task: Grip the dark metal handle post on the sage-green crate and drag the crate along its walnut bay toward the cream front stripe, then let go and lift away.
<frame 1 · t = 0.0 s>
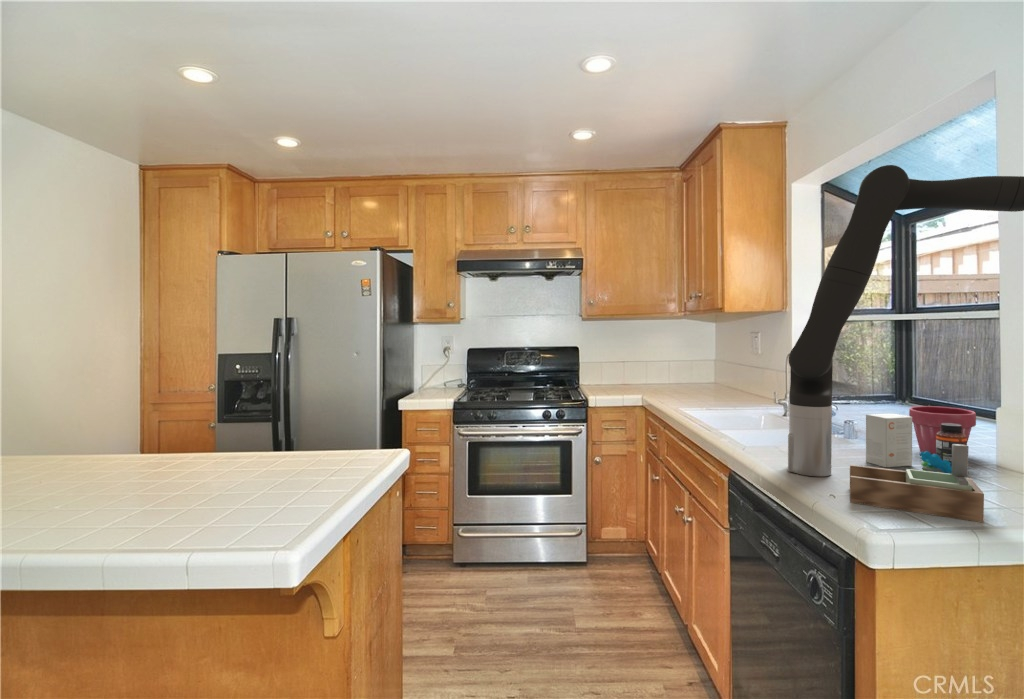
supplement bottle: (951, 468, 126), on the worktop
plant pot: (940, 455, 139), on the worktop
crate: (937, 472, 99), point 7 cm above the worktop, slide at 0.0 cm
bay: (909, 503, 102), on the worktop
gear: (941, 484, 114), on the worktop
small box: (888, 464, 131), on the worktop
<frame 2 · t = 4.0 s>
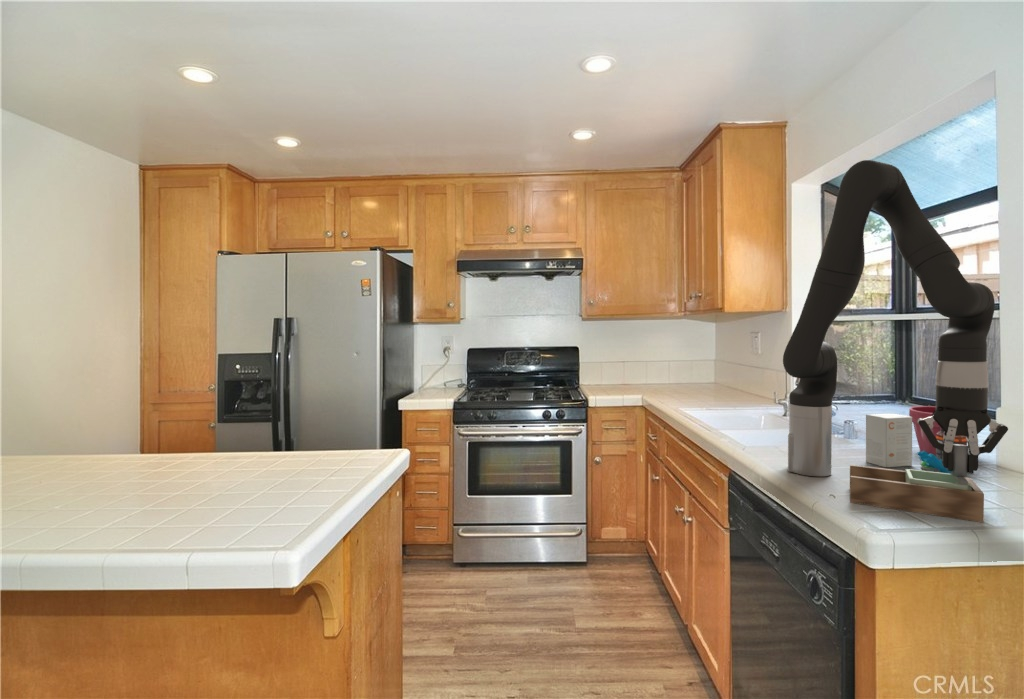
hand: (959, 471, 97), 8 cm above the worktop, tool pointing down, fingers closed on crate, 2 cm apart
crate: (936, 472, 99), point 7 cm above the worktop, slide at 0.0 cm, touching gripper
everything else where it was.
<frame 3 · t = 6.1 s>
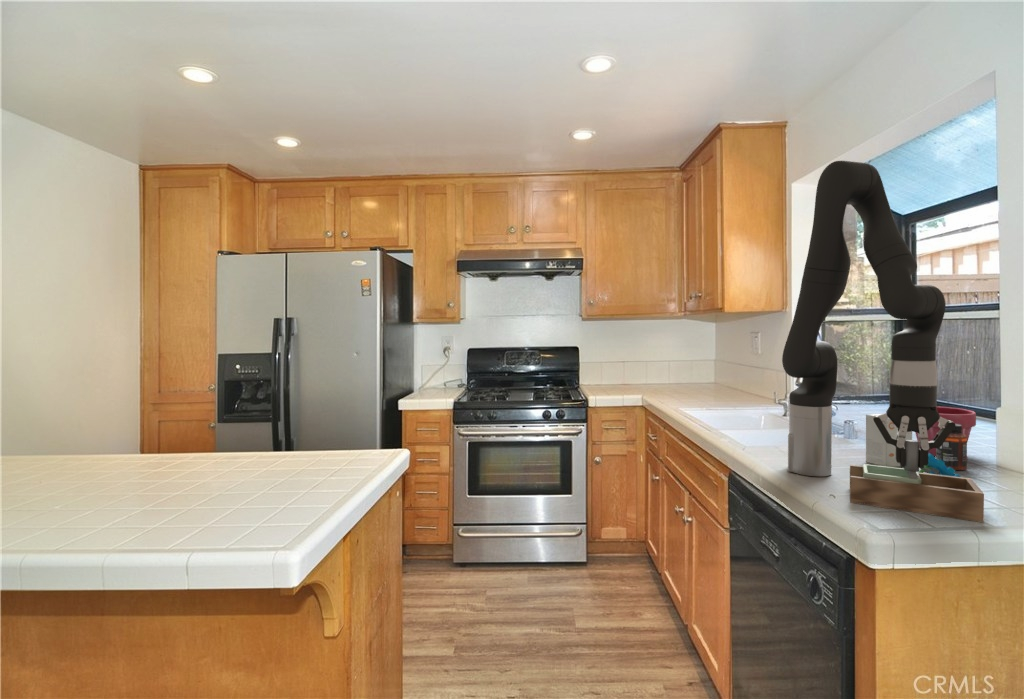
hand: (911, 465, 101), 8 cm above the worktop, tool pointing down, fingers closed on crate, 2 cm apart
crate: (890, 467, 103), point 7 cm above the worktop, slide at 7.4 cm, touching gripper
everything else where it was.
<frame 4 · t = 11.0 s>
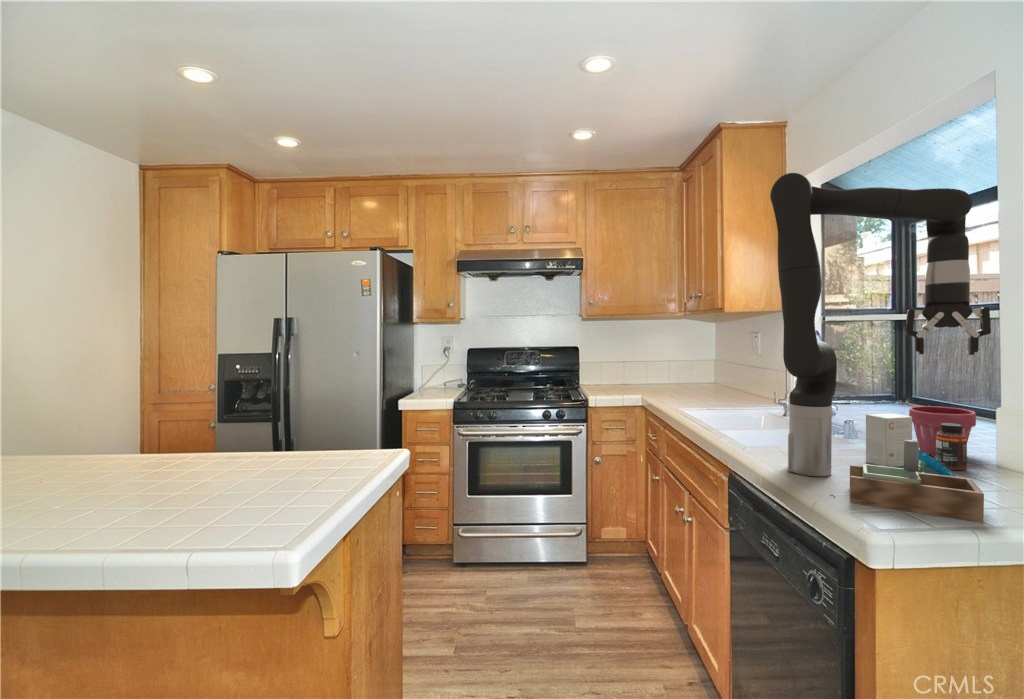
hand: (945, 354, 111), 30 cm above the worktop, tool pointing down, fingers open, 8 cm apart
crate: (890, 467, 103), point 7 cm above the worktop, slide at 7.5 cm
at the end: crate slide at 7.5 cm; the gripper is holding nothing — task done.
